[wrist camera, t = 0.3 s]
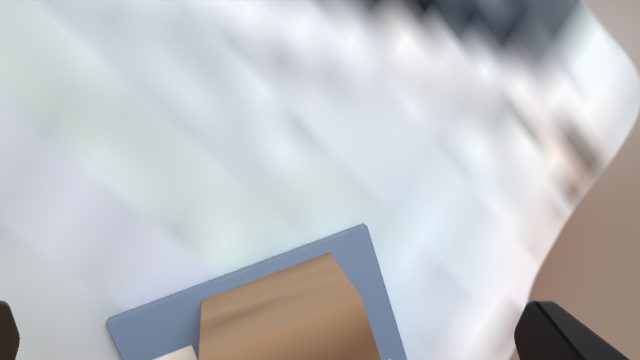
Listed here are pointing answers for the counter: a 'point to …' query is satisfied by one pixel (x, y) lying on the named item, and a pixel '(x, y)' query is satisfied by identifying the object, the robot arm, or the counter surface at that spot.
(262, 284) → the walnut block
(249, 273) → the board
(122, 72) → the counter surface
